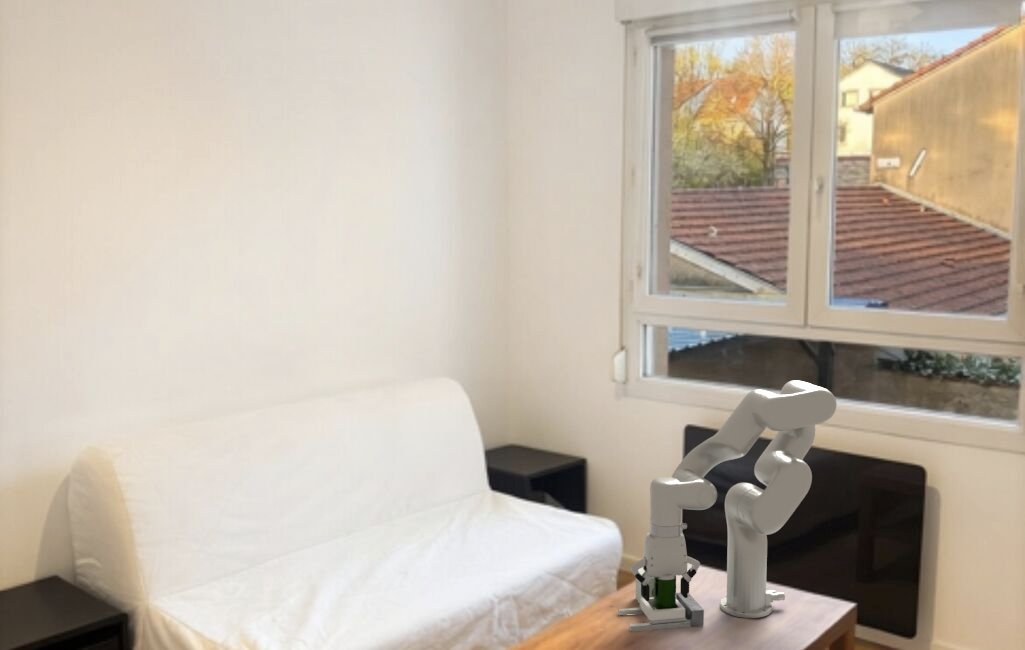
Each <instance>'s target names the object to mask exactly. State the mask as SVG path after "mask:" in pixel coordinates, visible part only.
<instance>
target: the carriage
mask: <svg viewBox="0 0 1025 650" xmlns="http://www.w3.org/2000/svg"><path fill="white" fill-rule="evenodd" d="M638 608H641V609H642V611H643V612H644V613H645V614H644V615H645V616H646V617H647V619H648V620H649V621H650V623H652V624H658V623H669V622H681V621H687V619H686V618H685V608H684V607H683V606H682V605H681V604H680V602H679V601H678V600H677V599H676V608H672V609H660V610H654V609H653V608H654V597H649V601H646V600H645V599H644V598H640V603H639V604H638Z"/></svg>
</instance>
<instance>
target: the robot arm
mask: <svg viewBox="0 0 1025 650" xmlns="http://www.w3.org/2000/svg"><path fill="white" fill-rule="evenodd" d="M836 399H837V398H836V397H835V395H834V394H833V393H832V392H831V391H830V390H828V389H827V388H824V387H822V386H818V385H816V384H812V383H810V382H806V381H802V380H790V381H788V382H786V383H785V384H784V385H783V386H782V388H781V390H780V392H779V394H776V393H774V392H772V391H768V390H765V389H753V390H751V391H749V392H748V393H747V394H746V395H745V396H744V397H743V398H742V400H741V401H740V402H739V404H738V405H737V406H736V408H735V409H734V410H733V411H732V413H731V414H730V416H729V417H728V418H727V420H726V421H725V422H724V423H723V424H722V426H721V427H720V428H719V430H718V431H717V432H716V433H715V434H713V436H711V437H709V438H707V439H706V440H704V441H702V443H700V444H698V445H696V447H694V448H692V450H690V451H689V452H688V453H687V454H686V455H685V456H684V457H683V459H682V461H680V463H679V464H678V465H677V467H676V468H675V470H674V471H673V473H672V475H671V476H669V477H668V476H661V477H660V476H659V477H656V478H653V479H652V481H651V482H650V488H649V489H650V493H649V496H650V497H649V503H650V505H649V506H650V507H649V532H647V533H646V535H645V540H644V545H643V546H644V547H643V555H642V559H640V560H638V561H637V562H635V563H633V564H632V565H631V566H630V567H629V569H630V570H631V572H632V574H633V576H634V577H635V579H636V578H637V579H638V580H639V581H640V582H641V596H642V597H643V598H644V599H645V600H646V601H649V592H650V587H649V585H648V582H649V581H650V580H651V579H652V577H662V576H663V575H673V576H676V577H677V576H682V577H680V588H679V589H680V592H679V593H681V594H682V596H683V597H684V598H687V597H688V593H689V594H690V582H691V581H692V579H693V577H694V576H695V575H696V574H697V572H698V569H699V568H700V566H701V562H700V561H699V560H697V559H696V558H693V557H691V556H688V553H687V545H686V539H685V534H684V533H683V530H685V529H687V528H688V524H687V523H686V522H685V523H684V522H682V521H683V520H682V518H683V511H682V510H693V511H694V510H695V511H702V510H703V511H704V510H707V509H710V508H711V507H712V506H713V505H715V504H716V501H717V498H718V492H717V491H718V490H717V488H716V487H715V485H714V484H713V483H712V482H711V481H710V480H708V479H706V478H705V476H706V475H707V474H708V473H709V472H710V471H711V470H712V469H713V468H714V467H716V466H717V465H719V464H720V463H723V462H726V461H731V460H735V459H740V458H742V457H745V456H746V455H747V454H748V452H749V451H750V450H751V448H753V446H754V444H755V443H756V442H757V441H758V439H759V438H760V436H761V435H762V434H763V433H764V432H765V431H766V429H768V430H770V431H773V432H774V431H775V432H777V433H776V434H775V436H774V437H773V438H772V440H771V441H770V442H769V444H768V446H766V448H765V449H764V451H763V452H762V453H761V455H760V456H759V458H758V459H757V460H756V462H755V465H754V469H753V472H754V476H755V478H756V479H757V480H758V481H759V482H760V483H761V484H763V485H764V486H765V488H764V489H763V488H761V487H759V486H757V485H755V484H752V483H749V482H738V483H736V484H734V485H732V486H731V487H730V488H729V489H728V490H727V493H726V495H725V500H724V512H725V513H724V514H725V519H726V525H727V526H726V528H727V557H726V561H727V562H726V596H724V597H722V598H721V599H720V601H719V602H720V603H719V607H720V609H721V610H722V611H723V612H725V613H726V614H728V615H731V616H734V617H739V618H745V619H759V618H763V617H767V616H768V615H770V614H771V613H772V611H773V605H772V603H773V602H774V601H776V602H777V601H785V597H786V595H785V592H782V591H781V592H776V590H774V589H769V590H767V568H768V567H767V561H768V559H767V558H768V538H767V537H768V536H767V535H772V534H775V533H776V532H778V531H779V530H781V528H782V527H784V525H785V524H786V523H787V522H788V521H789V519H790V517H792V515H793V513H794V512H795V511H796V510H797V508H798V507H799V506H800V504H801V502H802V501H803V500H804V499H805V497H806V495H808V492H809V490H810V488H811V485H812V480H813V474H812V470H811V468H810V466H809V465H808V463H807V462H805V461H804V458H805V456H806V455H807V454H808V453H809V450H810V449H811V448H812V446H813V444H814V441H815V437H816V425H819V424H820V425H821V424H823V423H825V422H827V421H829V420H830V419H831V418H832V417H833V416H834V414H835V413H836V411H837V400H836ZM688 564H690V565H691V567H690V568H689V569H688ZM640 568H643V570H644V571H645V572H644V573H643V574H642V575H640V574H639V572H638V570H639V569H640Z"/></svg>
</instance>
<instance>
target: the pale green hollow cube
mask: <svg viewBox="0 0 1025 650" xmlns="http://www.w3.org/2000/svg"><path fill="white" fill-rule="evenodd" d="M638 572H639V574H640V575H642V574H643V573H644V572H645V571H644V570H643V567H642V568H640V569H639V570H638ZM648 585H649V587H650V592H649V597H654V577H652V579H651V580H650V581H649V582H648ZM640 598H643V597H642V596H641V582H640V581H639V580H638V579H637V578H636V577H635V599H636V600H638V601H639V602H638V601H637V602H638V603H639V604H640Z"/></svg>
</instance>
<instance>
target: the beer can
mask: <svg viewBox="0 0 1025 650" xmlns="http://www.w3.org/2000/svg"><path fill="white" fill-rule="evenodd" d="M676 593H677V576H673V575H663V576H662V577H654V610H660V609H672V608H676Z"/></svg>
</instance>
